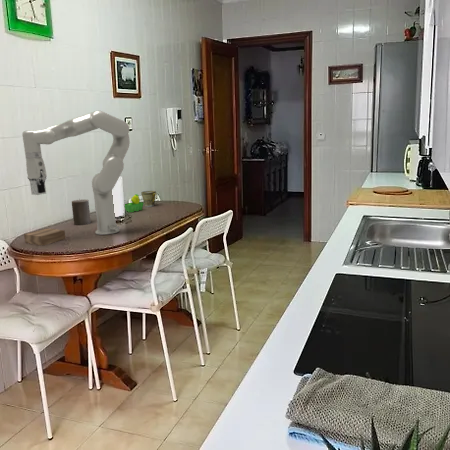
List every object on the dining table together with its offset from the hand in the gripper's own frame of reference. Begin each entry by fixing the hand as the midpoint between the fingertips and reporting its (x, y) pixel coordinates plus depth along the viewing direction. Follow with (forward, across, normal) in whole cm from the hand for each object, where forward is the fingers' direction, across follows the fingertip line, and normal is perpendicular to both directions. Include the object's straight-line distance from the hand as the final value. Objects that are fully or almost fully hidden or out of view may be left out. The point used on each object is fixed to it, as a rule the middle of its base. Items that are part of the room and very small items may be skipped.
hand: (38, 192), depth 248 cm
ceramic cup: (+26, +18, -94) cm, 99 cm away
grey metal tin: (+1, 0, 0) cm, 1 cm away
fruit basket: (+26, +16, -77) cm, 83 cm away
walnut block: (+26, 0, 0) cm, 26 cm away
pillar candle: (+26, +18, -37) cm, 48 cm away
